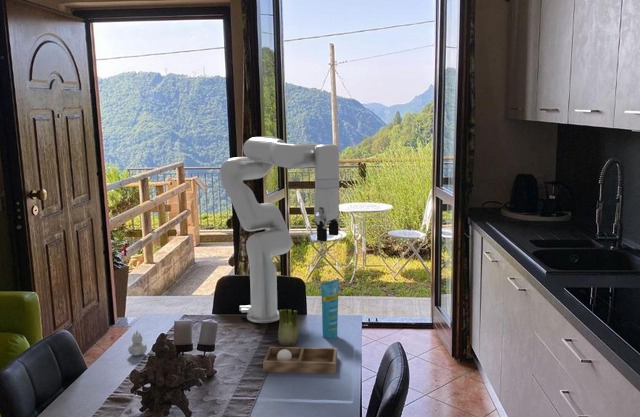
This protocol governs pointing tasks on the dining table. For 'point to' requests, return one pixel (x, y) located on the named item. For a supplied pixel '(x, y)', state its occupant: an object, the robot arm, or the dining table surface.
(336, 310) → the tube
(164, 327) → the dining table surface
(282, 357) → the cream egg
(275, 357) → the wooden compartment tray
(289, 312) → the fennel bulb
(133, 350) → the grey figurine
